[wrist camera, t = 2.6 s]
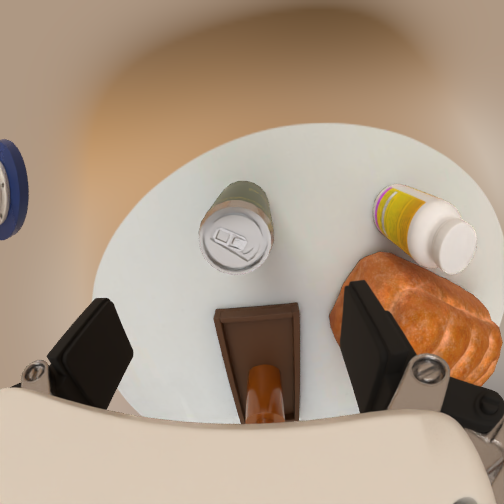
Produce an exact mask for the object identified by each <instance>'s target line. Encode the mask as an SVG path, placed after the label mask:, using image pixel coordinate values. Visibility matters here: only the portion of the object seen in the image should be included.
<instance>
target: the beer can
mask: <svg viewBox="0 0 504 504" xmlns="http://www.w3.org/2000/svg"><path fill="white" fill-rule="evenodd" d="M273 242H274V230H273V225H272V219H271V214H270V208H269V202H268V199H267V196H266V194H265V192H264V191H263V190H262V189H261V187H259V186H258V185H256V184H255V183H252V182H248V181H237V182H235V183H232V184H230V185H229V186H228V187H226V188H225V189H224V190H223V192H222V193H221V194H220V196H219V197H218V198H217V200H216V201H215V202H214V204H213V205H212V206H211V208H210V209H209V211H208V212H207V213H206V215H205V217H204V218H203V220H202V222H201V225H200V229H199V243H200V249H201V252H202V254H203V256H204V258H205V259H206V260H207V262H208V263H209V264H210V265H211V266H212V267H214V268H215V269H217V270H219V271H221V272H223V273H227V274H231V275H238V274H245V273H248V272H251V271H254V270H255V269H256V268H258V267H259V266H261V265H262V264H263V262H264V261H265V260H266V258H267V257H268V255H269V253H270V251H271V248H272V245H273Z"/></svg>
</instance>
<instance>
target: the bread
mask: <svg viewBox="0 0 504 504" xmlns="http://www.w3.org/2000/svg"><path fill="white" fill-rule="evenodd" d="M358 280H365V281H366V282H367V284H368V285H369V287H370V288H371V290H372V291H373V293H374V294H375V296H376V297H377V299H378V300H379V302H380V303H381V305H382V306H383V308H384V310H385V311H389V312H390V313H391V314H392V315H393V317H394V318H395V320H396V322H397V323H398V325H399V326H400V328H401V329H402V331H403V333H404V334H405V336H406V337H407V339H408V341H409V342H410V344H411V346H412V347H413V349H414V351H415V352H416V354H417V355H419V354H424V353H429V354H435V355H437V356H440V357H441V358H443V359H444V360H445V361H446V362H447V364H448V365H449V368H450V377H453V378H456V379H459V380H462V381H465V382H468V383H471V384H474V385H477V386H480V387H481V386H482V385H483V384H484V383H485V382H486V381H487V380H488V379H489V377H490V376H491V375H492V374H493V372H494V370H495V367H496V364H497V362H498V359H499V356H500V350H501V346H502V343H503V342H502V338H501V333H500V329H499V327H498V326H497V325H496V324H495V323H494V322H493V321H491V318H490V314H489V311H488V310H487V309H486V307H485V306H484V305H483V304H482V303H481V302H480V301H479V300H478V299H477V298H476V297H475V296H474V295H473V294H471V293H469V292H467V291H465V290H464V289H463V288H461V287H460V286H458V285H456V284H454V283H452V282H450V281H449V280H447V279H445V278H442V277H439V276H437V275H436V274H434V273H432V272H431V271H429V270H427V269H425V268H423V267H420V266H418V265H416V264H414V263H412V262H409V261H407V260H405V259H403V258H400V257H398V256H396V255H394V254H392V253H388V252H377V253H375V254H372V255H369V256H366V257H364V258H363V259H361V260H360V261H359V262H358V263H357V265H356V266H355V268H354V269H353V270H352V272H351V273H350V275H349V276H348V278H347V279H346V281H345V282H344V284H343V286H342V289H341V291H340V294H339V296H338V299H337V301H336V303H335V305H334V307H333V309H332V311H331V313H330V315H329V319H330V326H331V329H332V331H333V334H334V337H335V339H336V341H337V343H338V345H339V346H340V335H341V325H342V314H343V301H344V288H345V286H349V282H350V281H358Z"/></svg>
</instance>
